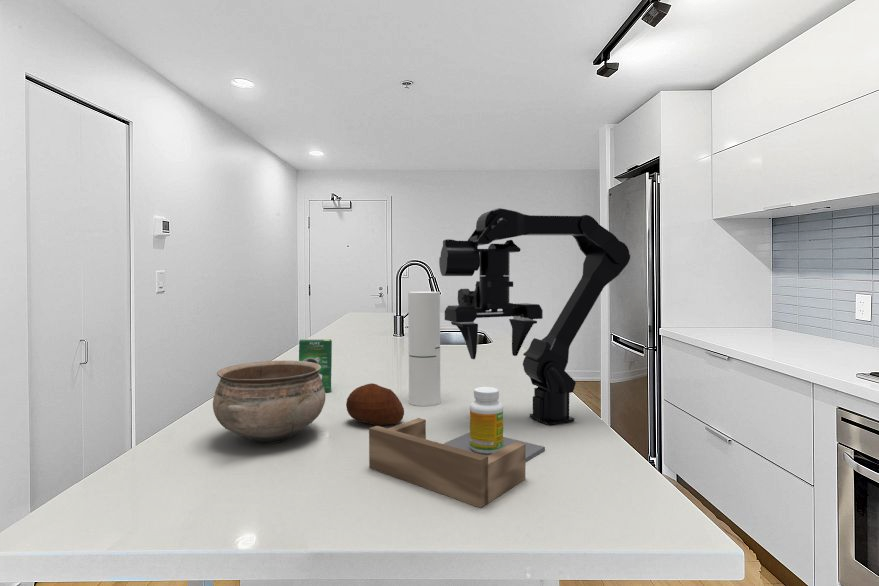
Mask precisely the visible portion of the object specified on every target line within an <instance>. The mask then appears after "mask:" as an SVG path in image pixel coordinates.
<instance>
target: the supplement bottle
mask: <svg viewBox="0 0 879 586" xmlns="http://www.w3.org/2000/svg"><path fill="white" fill-rule="evenodd" d="M499 396H500V391H499V389H498V388H496V387H491V386H480V387H475V388H474V390H473V397H474V399H475V400H474V401H472V402H471V404H470V405H469V432H470V448H471V449H472V450H473V451H475V452H477V453H482V454H493V453H495V452H497V451H499V450H500V449H502V448H503V437H504V406H503V404H502V403H501V402H500V401H498V400H499V398H500V397H499Z"/></svg>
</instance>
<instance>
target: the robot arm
mask: <svg viewBox="0 0 879 586" xmlns="http://www.w3.org/2000/svg"><path fill="white" fill-rule="evenodd" d="M522 236H572V237H573V238H574V239H575V242H576V243H577V246H578V247H579V250H580V251H581V252H582V253H583V254H584V256H585V258H584V262H583V265H582V266H583V267H582V276H581V277H580V280H579V282H578V283H577V285H576V286H575V288H574V290H573V292H572V294H571V295H570V297H569V299H568V300H567V301H566V304H565V305H564V307H563V308H562V310H561V312H560V314H558V317H557V318H556V320H555V322H554V323H553V326H552V327H551V329H550V331H549V332H548V334H547V335H546V336H545V337H544V338H542V339H538V338H535V337H534V338H533V339H532V340H531V342H530V344H529V347H528V349H527V350H526V351H525V352H524V353H523V356H525V357H524V358H523V361H522V367H523V371H524V373H525V374H526V375H527V376H528V377H529V379H530V382H531V384H532V385H533V386H536V387H534V388H533V389H534V391H533V392H534V394H533V396H532V413H530V414H529V417H530V418H532V419H534V420H536V421H539V422H540V423H543V424H545V425H547V426H551V425H552V426H553V425H557V424H564V423H565V424H566V423H570V422H575V418H574V417H572V416H570V394H571V393H573V392H574V390H575V388H576V385H577V383H576V381H575V379H574V378H573V377H571V375H570V374H569V373H568V372H566V368H567V365H568V363H569V355H570V347H571V345H572V344H573V341H574V339H575V337H576V336H577V334H578V332H579V331H580V329H581V327H582V326H583V324H584V323H585V321H586V319H587V317H588V316H589V314H590V312H591V310H592V309H593V307H594V305H595V303H596V302H597V300H598V298H599V296H600V295H601V293H602V291H603V289H604V288H605V287H606V286H607V285H608V284H609V283H611V282H612V281H613V280H615V279H616V278H617V277H619V276H620V274H621V273H622V272H623V270H625V268H626V267H627V266H628V264H629V263H630V260H631V254H630V250H629V248H628V246H627V244H626V243H625V242H622V241H620V240H619V238H617V236H616V235H615V234H614V233H612V232H611V231H609V230H608V229H606V228H605V227H604V226H602V225H600V223H599V222H598V221H597V220H596V219H595V218H594V217H593V216H591V215H588V214H583V215H529V214H524V213H522V212H519V211H515V210H511V209H506V208H501V207H500V208H499V207H498V208H494V209H492V210H489V211H486V212H483V213H482V214H481V215H480V216H479V217H478V218H477V221H476V225H475V230H473V232H472V234H471V235H470V236H469V238H468V239H467V240H455V239H450V238H449V239H448V238H447V239H444V240H443V241H442V247H441V251H440V256H439V260H438V263H439V271H440V275H441V276H443V277H472V276H474V274H475V272H477V271H479V281H476V282H475V288H474V290H470V289H469V288H460V289H459V290H457V303H458V305H447V307H446V308H445V310H444V321H449V322H450V323H451V325H452V326H456V327H457V328H458V329H459V331H460V333H461V336H462V337H463V339H464V343H465V345H466V348H467V350H468V351H467V352H468V354H469V358H470V359H471V360H476V357H477V351H478V349H477V348H478V336H479V335H478V332H479V323H476V322H474V321H475V320H476V319H478V318H479V319H483V318H505V317H506V318H507V317H509V323H510V327H511V354H512V356H514V357H518V354H519V353H520V351H521V348H522V347H523V344H524V342H525V339H526V338H527V336H528V334H529V332H530V331H531V329H532V327H533V326H534V325H536V324H538V319H539V320H542V319H543V318H544V317H543V316H544V315H543V314H544V313H543V309H542V306H541V305H540V304H539V303H527V302H526V303H523V302H522V303H513V302H510V288H513V287H514V281H513V280H512V281H510V263H511V261H510V260H511V259H510V258H511V257H510V256H511V255H510V253H519V252H521V248H520V247H519V246H518V245H517V244H516V243H515V242H514V240H512V239H510V238H516V237H522ZM506 239H508V240H506ZM500 240H506V241H505V242H504V243H493V242H495V241H500ZM486 245H489V246H488V248H479V246H486ZM510 317H513V318H510Z"/></svg>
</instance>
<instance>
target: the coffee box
mask: <svg viewBox="0 0 879 586" xmlns="http://www.w3.org/2000/svg"><path fill="white" fill-rule="evenodd" d="M298 343H299V344H298V361H306V362H312V363H316V364H319V365H320V366H321V368H320V370H319V371H318V374H319V376H320V378H321V380H322V383H323V386H324V390H325V393H331V392H332V366H333V365H332V364H333V363H332V358H333V357H332V355H333V354H332V350H333V341H332V339H326V338H325V339H299V340H298Z"/></svg>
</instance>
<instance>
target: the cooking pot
mask: <svg viewBox="0 0 879 586" xmlns="http://www.w3.org/2000/svg"><path fill="white" fill-rule="evenodd" d="M320 368H321V366H320V365H319V364H316V363H312V362H306V361H299V360H267V361H257V362H249V363H248V362H247V363H241V364H236V365H232V366H231V365H230V366H227V367H224V368H221V369H220V370H218V371H217V372H216V375H217V376H218V377H219V378H220V379H219V382H218V383H217V386H216V389H215V392H214V395H213V400H212V410H213V414H214V416H215V418H216V420H217V421H218V423H219V424H220V425H221V426H222V427H223V428H224V429H226V430H227V431H229V432H231V433H232V434H233V433H234V434H235V435H237V436H240V437H242V438H244V439H249V440H250V441H252V442H255V443H259V444H271V443H272V444H274V443H278V442H282V441H286V440H288V439H289V438H291V437H293V435H295V434H297V433H299V432H300V431H301V430H303V429H305V428H306V427H308V426H309V425H311V424H312V423H313V422H314V421H315V420H316V419H317V418H318V417H319V415H320V414H321V412H322V410H323V409H324V406H325V403H326V392H325V390H324V386H323V383H322V380H321V378H320V376H319V374H318V371H319V370H320Z"/></svg>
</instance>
